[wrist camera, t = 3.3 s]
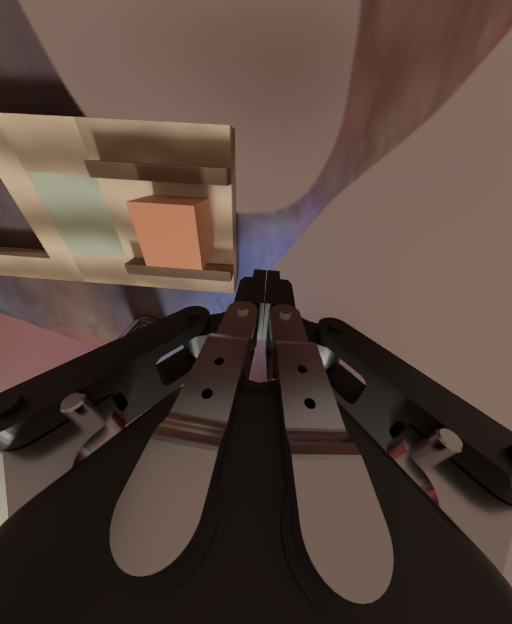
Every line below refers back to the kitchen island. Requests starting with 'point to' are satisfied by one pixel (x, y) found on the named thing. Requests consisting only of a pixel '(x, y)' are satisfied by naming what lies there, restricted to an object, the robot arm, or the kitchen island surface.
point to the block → (173, 230)
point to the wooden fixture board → (114, 195)
